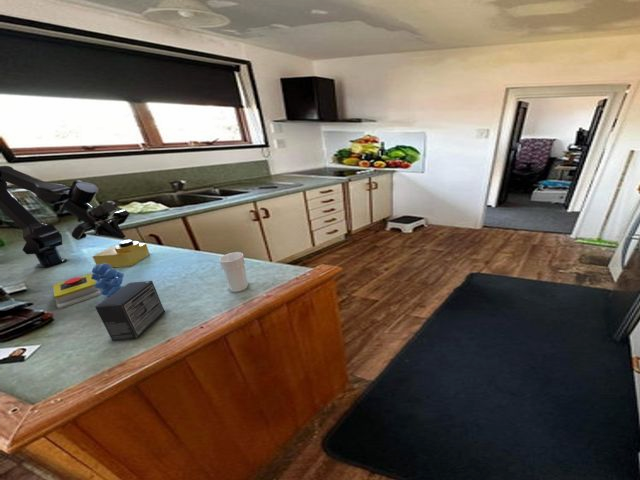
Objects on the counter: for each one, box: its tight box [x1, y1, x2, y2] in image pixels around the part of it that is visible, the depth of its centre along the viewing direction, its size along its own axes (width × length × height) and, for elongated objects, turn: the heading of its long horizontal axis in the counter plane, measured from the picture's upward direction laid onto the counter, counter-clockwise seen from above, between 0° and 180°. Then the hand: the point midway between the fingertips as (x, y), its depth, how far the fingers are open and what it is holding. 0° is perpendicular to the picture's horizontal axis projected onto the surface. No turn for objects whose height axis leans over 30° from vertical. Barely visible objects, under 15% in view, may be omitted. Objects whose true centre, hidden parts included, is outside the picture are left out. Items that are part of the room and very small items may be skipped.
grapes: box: [91, 264, 125, 298], centre depth 83 cm, size 12×7×12 cm, turn 71°
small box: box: [94, 280, 166, 342], centre depth 70 cm, size 11×6×10 cm, turn 5°
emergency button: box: [53, 273, 102, 309], centre depth 87 cm, size 9×4×15 cm
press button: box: [118, 239, 134, 247], centre depth 106 cm, size 4×4×2 cm
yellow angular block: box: [92, 240, 151, 268], centre depth 107 cm, size 12×10×7 cm
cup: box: [218, 251, 249, 293], centre depth 85 cm, size 7×7×11 cm
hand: (124, 237), depth 105 cm, fingers closed
